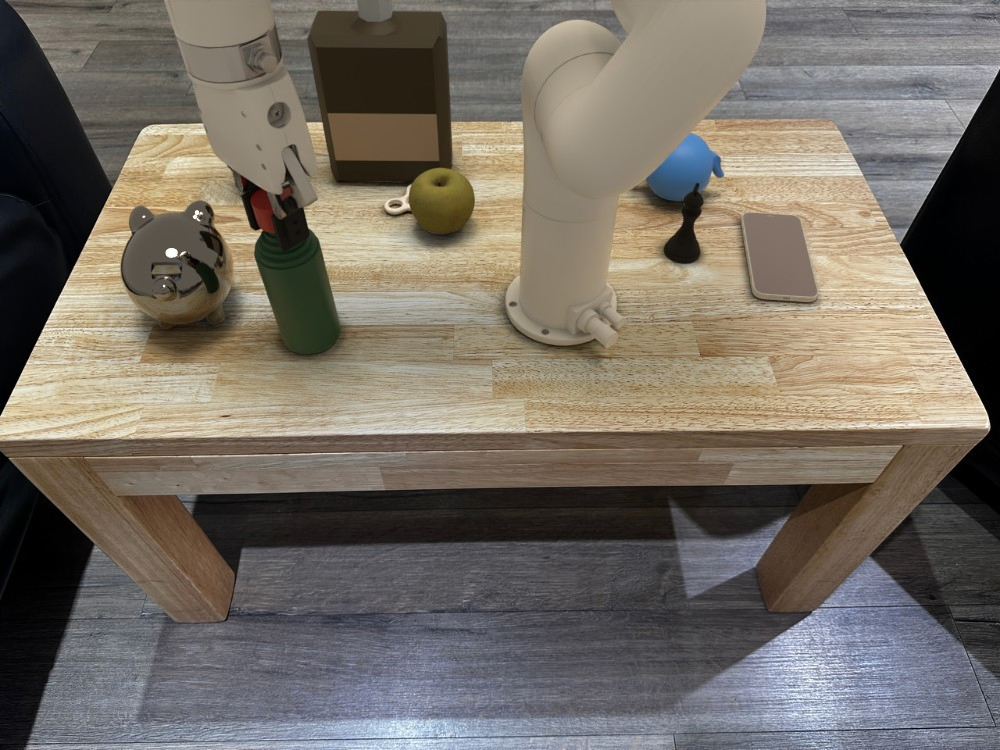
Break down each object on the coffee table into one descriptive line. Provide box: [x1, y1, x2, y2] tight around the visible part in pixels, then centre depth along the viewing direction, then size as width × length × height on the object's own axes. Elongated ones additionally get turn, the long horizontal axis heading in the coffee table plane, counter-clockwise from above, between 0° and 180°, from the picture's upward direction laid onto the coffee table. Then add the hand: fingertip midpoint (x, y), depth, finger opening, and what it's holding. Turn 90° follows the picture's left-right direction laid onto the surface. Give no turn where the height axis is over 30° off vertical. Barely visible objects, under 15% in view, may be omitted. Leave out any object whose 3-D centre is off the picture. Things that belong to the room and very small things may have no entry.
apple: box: [408, 168, 476, 235], centre depth 96 cm, size 8×8×7 cm
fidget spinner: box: [383, 183, 412, 215], centre depth 101 cm, size 7×6×1 cm
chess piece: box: [663, 183, 705, 264], centre depth 92 cm, size 4×4×10 cm
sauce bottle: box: [253, 227, 342, 355], centre depth 79 cm, size 6×6×18 cm
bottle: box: [306, 0, 454, 183], centre depth 97 cm, size 8×16×25 cm, turn 90°
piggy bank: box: [119, 199, 234, 330], centre depth 85 cm, size 11×15×12 cm
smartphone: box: [740, 211, 819, 303], centre depth 95 cm, size 7×1×15 cm
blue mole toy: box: [644, 132, 725, 202], centre depth 101 cm, size 12×12×8 cm
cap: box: [251, 188, 291, 233], centre depth 73 cm, size 4×4×3 cm
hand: (280, 231), depth 75 cm, fingers closed on cap, 3 cm apart
